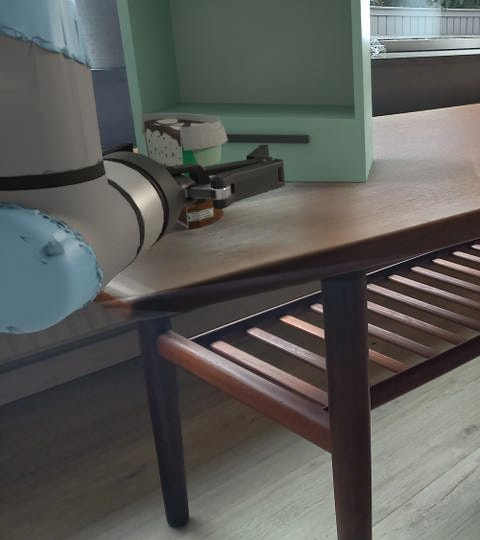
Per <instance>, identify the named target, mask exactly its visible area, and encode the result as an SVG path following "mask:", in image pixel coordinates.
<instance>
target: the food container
mask: <svg viewBox="0 0 480 540" xmlns="http://www.w3.org/2000/svg"><path fill="white" fill-rule="evenodd" d="M141 118H142V120H141V126H142V134H144V137H145V143H146V149H147V155H148V157H149V158H151V159H153V160H155V161H156V162H158V163H159V164H161V165H169V166H176V165H182V164H188V163H193V164H198V165H201V166H203V167H205V166H212V165H218V164H222V159H221V144H223V143H225V142H227V141H228V139H227V136H226V132H225V129H224V126H223V125H222V124H220V119H219V118H217V117H214V116H209V115H202V114H187V113H152V114H141ZM183 175H185V176H187V177H189V173H183ZM223 217H224V210H223V209H215V208H213V204H212V200H211V199H207V200H206V202H205V203H202V204H197V205H192V206H188V207H183V208H182V211H181V213H180V216H179V218H178V220H177V222H176V223H177V224H179V225H181V226H182V227H184V228H186V229H187V230H192V229H197V228H202V227H206V226H208V225H212V224H215V223H217V222H218V221H221V219H222V218H223Z"/></svg>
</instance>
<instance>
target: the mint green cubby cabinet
mask: <svg viewBox="0 0 480 540" xmlns="http://www.w3.org/2000/svg"><path fill="white" fill-rule="evenodd" d="M116 8H117V14H118V20H119V28H120V35H121V42H122V49H123V57H124V63H125V69H126V70H125V71H126V79H127V84H128V93H129V99H130V106H131V115H132V120H133V127H134V135H135V142H136V143H135V144H136V148H137V153H139V154H142V155H145V156H147V157H148V155H147V149H146V143H145V137H144V134H142V126H141V120H142V118H141V114H152V113H187V114H202V115H209V116H214V117H217V118H219V119H220V124H222V125H223V126H224V129H225V132H226V136H227V139H228V141H227V142H225V143H223V144H221V159H222V164H224V163H230V162H236V161H242V160H247V159H246V156H247V155H248V154H250V153H251V152H252V151H253V150H255V149H256V148H257V147H259V146H260V145H268V150H269V157H272V158H273V160H274V159H282V160H283V161H284V175H285V183H286V182H287V183H291V182H293V183H294V182H295V183H297V182H298V183H299V182H300V183H303V182H304V183H367V181H368V178H369V174H370V171H371V168H372V164H373V161H374V136H373V135H374V134H373V133H374V132H373V131H374V130H373V96H372V94H373V93H372V60H371V59H372V58H371V55H372V54H371V15H370V0H116Z"/></svg>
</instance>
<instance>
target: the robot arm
mask: <svg viewBox="0 0 480 540" xmlns="http://www.w3.org/2000/svg"><path fill="white" fill-rule="evenodd" d="M86 42H87V41H86V37H85V32H84V27H83V23H82V20H81V18H80V14H79V10H78V6H77V3H76V0H0V333H7V334H14V335H23V334H30V333H37V332H39V331H43V330H46V329H48V328H51V327H53V326H54V325H57V324H58V323H60V322H61V321H63V320H64V319H65V318H67V317H68V316H69V315H71V314H73V313H74V312H75V311H76V310H81V309H83V308H84V307H86V306H89V304H91V303H92V302H93V300H95V298H96V297H97V296H98V294H99V293H100V292H101V291H102V290H103V289H104V288H105V287H106V286H107V285H108V284H109V283H110V282H111V281H113V279H114V278H116V277H117V276H118V275H119V274H120V273H121V272H123V271H125V270H126V269H127V268H128V267H129V266H130V265H131V264H132V263H133V262H134V261H135V260H136V259H138V258H139V257H140V256H141V255H142V254H144V253H145V252H146V251H147V250H149V249H150V248H151V247H153V246H155V245H156V244H157V243H158V242H159V241H160V240H161V239H162V238H164V237H165V236H167V234H168V233H170V231H171V230H172V229H173V228H174V227H175V226H176V224H177V223H178V222H177V220H178V218H179V216H180V213H181V211H182V208H183V207H188V206H192V205H197V204H202V203H205V202H206V200H207V199H211V200H212V204H213V208H215V209H227V208H228V207H230V206H231V205H234V203H236V202H240V201H243V200H247V199H248V198H249V199H250V198H252V197H256V196H258V195H261V194H262V195H263V194H266V193H268V192H271V191H274V190H277V189H280V188H281V189H282V188H283V187H285V186H286V182H285V175H284V161H283V160H282V159H274V160H273V158H272V157H269V150H268V145H260V146H259V147H257V148H256V149H255V150H253V151H252V152H251V153H250V154H248V155H247V156H246V159H247V160H242V161H236V162H230V163H224V164H218V165H212V166H205V167H203V166H201V165H198V164H193V163H188V164H182V165H176V166H169V165H161V164H159V163H158V162H156V161H155V160H153V159H151V158H149V157H147V156H145V155H142V154H139V153H138V152H134V145H133V142H124V143H121V144H119V145H116V146H114V147H112V148H110V149H106V150H104V151H102V143H101V137H100V136H101V135H100V129H99V128H100V127H99V122H98V114H97V113H98V112H97V107H96V106H97V105H96V99H95V91H94V83H93V82H94V81H93V75H92V74H93V73H92V69H93V66H92V65H93V64H92V60H91V59H90V57H89V52H88V47H87V43H86ZM183 173H189V177H187V176H185V175H183Z"/></svg>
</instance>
